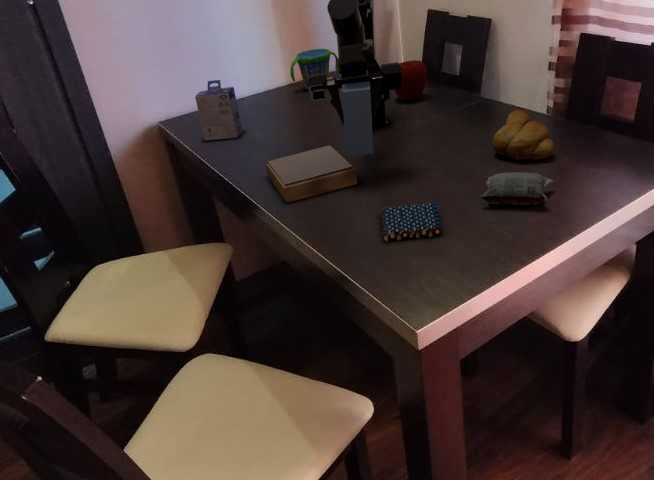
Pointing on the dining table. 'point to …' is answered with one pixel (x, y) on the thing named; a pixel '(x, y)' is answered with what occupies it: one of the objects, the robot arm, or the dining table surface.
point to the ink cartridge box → (218, 112)
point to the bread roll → (523, 138)
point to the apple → (412, 80)
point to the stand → (310, 173)
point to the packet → (357, 118)
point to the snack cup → (313, 63)
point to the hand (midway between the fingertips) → (357, 121)
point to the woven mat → (410, 221)
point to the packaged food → (516, 188)
